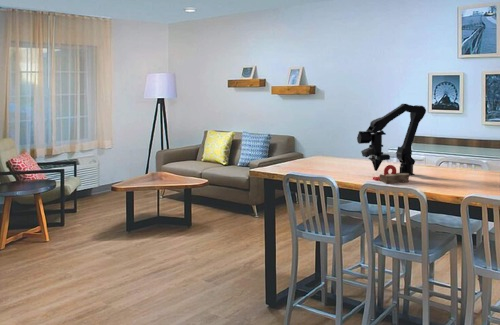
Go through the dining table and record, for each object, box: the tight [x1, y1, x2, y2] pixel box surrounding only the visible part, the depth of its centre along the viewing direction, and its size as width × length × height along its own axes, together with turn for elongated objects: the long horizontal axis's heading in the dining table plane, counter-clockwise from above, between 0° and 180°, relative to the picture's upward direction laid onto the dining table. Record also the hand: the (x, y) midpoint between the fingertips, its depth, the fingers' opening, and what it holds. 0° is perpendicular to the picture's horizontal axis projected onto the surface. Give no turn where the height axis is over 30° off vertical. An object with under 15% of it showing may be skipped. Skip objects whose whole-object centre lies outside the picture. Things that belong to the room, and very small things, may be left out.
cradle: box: [379, 172, 410, 185], centre depth 255 cm, size 13×8×5 cm, turn 107°
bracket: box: [372, 164, 397, 181], centre depth 263 cm, size 12×4×8 cm, turn 103°
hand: (375, 170), depth 272 cm, fingers closed
